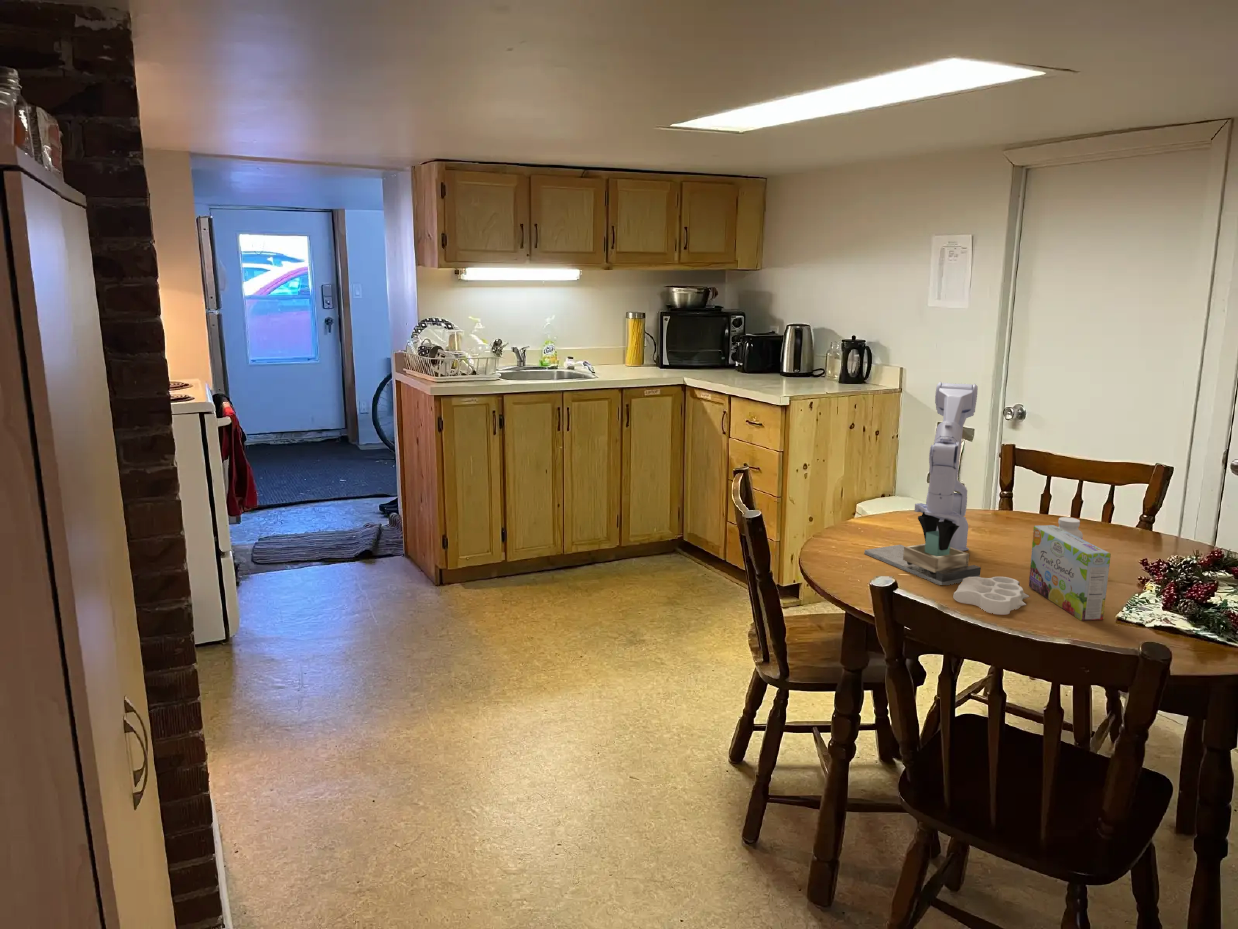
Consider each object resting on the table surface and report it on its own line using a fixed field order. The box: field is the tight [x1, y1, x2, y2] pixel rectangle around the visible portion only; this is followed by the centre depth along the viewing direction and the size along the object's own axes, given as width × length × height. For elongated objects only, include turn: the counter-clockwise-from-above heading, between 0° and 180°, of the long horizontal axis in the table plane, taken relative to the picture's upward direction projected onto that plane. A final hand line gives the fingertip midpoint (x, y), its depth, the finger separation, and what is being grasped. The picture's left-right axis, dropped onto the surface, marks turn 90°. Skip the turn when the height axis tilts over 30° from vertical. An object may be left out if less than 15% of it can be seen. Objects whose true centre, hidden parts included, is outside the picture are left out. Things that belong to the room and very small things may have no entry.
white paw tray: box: [952, 576, 1031, 616], centre depth 196 cm, size 3×18×15 cm
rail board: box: [864, 544, 982, 586], centre depth 218 cm, size 12×27×3 cm, turn 25°
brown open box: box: [903, 543, 970, 574], centre depth 213 cm, size 11×11×4 cm
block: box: [924, 530, 950, 556], centre depth 213 cm, size 4×4×5 cm
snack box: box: [1028, 524, 1112, 622], centre depth 193 cm, size 21×6×15 cm, turn 5°
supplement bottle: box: [1057, 516, 1084, 540], centre depth 215 cm, size 7×7×13 cm
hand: (936, 546), depth 213 cm, fingers closed on block, 4 cm apart
